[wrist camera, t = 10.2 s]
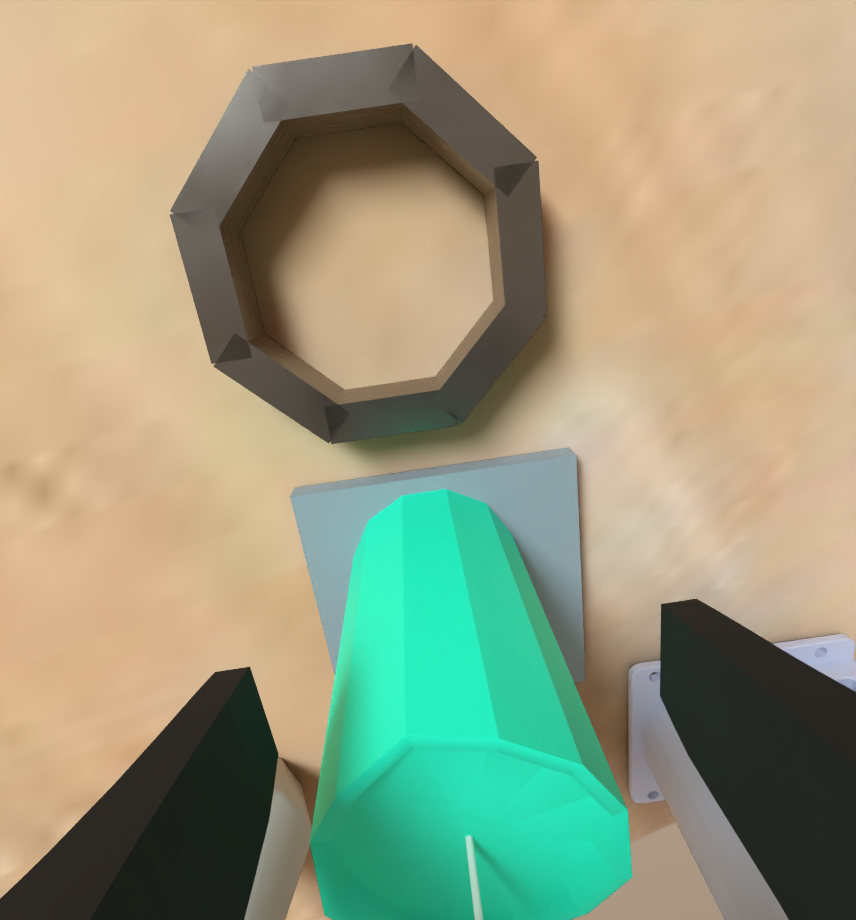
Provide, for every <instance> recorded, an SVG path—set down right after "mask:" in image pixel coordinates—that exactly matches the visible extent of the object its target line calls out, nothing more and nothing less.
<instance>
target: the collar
mask: <svg viewBox="0 0 856 920" xmlns="http://www.w3.org/2000/svg"><path fill="white" fill-rule="evenodd" d="M252 70H253V72H251V71H250V70H248V71H247V73H246V75H245V77H244V79H243V80H242V82H241V84H240V86H239V88H238V89H237V91H236V93H235V95H234V97H233V98H232V100H231V102H230V104H229V106H228V107H227V109H226V111H225V113H224V115H223V116H222V118H221V120H220V122H219V124H218V125H217V127H216V129H215V131H214V133H213V134H212V136H211V138H210V140H209V142H208V143H207V145H206V147H205V149H204V151H203V152H202V154H201V156H200V158H199V160H198V161H197V163H196V165H195V167H194V169H193V170H192V172H191V174H190V176H189V178H188V180H187V181H186V183H185V185H184V187H183V189H182V190H181V192H180V194H179V196H178V198H177V199H176V201H175V203H174V205H173V207H172V208H171V210H170V211H171V212H172V213H174V214H170V217H171V221H172V224H173V228H174V231H175V235H176V239H177V242H178V246H179V249H180V253H181V256H182V260H183V264H184V267H185V271H186V274H187V278H188V281H189V285H190V289H191V292H192V296H193V299H194V303H195V306H196V310H197V314H198V317H199V321H200V324H201V328H202V331H203V335H204V339H205V342H206V346H207V349H208V353H209V356H210V360H211V364H213V363H215V365H214V367H215V368H217V369H218V370H220V371H221V372H223V373H224V374H226V375H227V376H229V377H230V378H232V379H233V380H235V381H236V382H238V383H239V384H241V385H242V386H244V387H245V388H247V389H248V390H250V391H251V392H253V393H254V394H256V395H257V396H259V397H260V398H262V399H263V400H265V401H266V402H268V403H269V404H271V405H272V406H274V407H275V408H277V409H278V410H280V411H281V412H283V413H284V414H286V415H287V416H289V417H290V418H292V419H293V420H295V421H296V422H298V423H299V424H301V425H302V426H304V427H305V428H307V429H308V430H310V431H311V432H313V433H314V434H316V435H317V436H319V437H320V438H322V439H323V440H325V441H326V442H328V443H329V442H330V441H331V443H332V444H334V443H341V442H348V441H355V440H362V439H368V438H375V437H382V436H389V435H396V434H403V433H410V432H416V431H423V430H430V429H437V428H444V427H451V426H457V425H459V423H458V422H460V423H461V424H462V422H463V421H464V420H465V419H466V417H467V416H468V415H469V414H470V412H471V411H472V410H473V409H474V407H475V406H476V405H477V404H478V402H479V401H480V400H481V399H482V397H483V396H484V395H485V394H486V392H487V391H488V390H489V389H490V387H491V386H492V385H493V384H494V382H495V381H496V380H497V379H498V377H499V376H500V375H501V374H502V372H503V371H504V370H505V369H506V367H507V366H508V365H509V364H510V362H511V361H512V360H513V359H514V357H515V356H516V355H517V354H518V352H519V351H520V350H521V349H522V347H523V346H524V345H525V344H526V342H527V341H528V340H529V339H530V337H531V336H532V335H533V334H534V332H535V331H536V330H537V329H538V327H539V326H540V325H541V324H542V322H543V321H544V320H545V319H546V317H544V316H543V315H547V305H546V287H545V270H544V252H543V234H542V216H541V198H540V180H539V163H538V161H535V159H536V158H537V157H536V156H535V155H534V154H533V153H532V152H531V151H530V150H528V149H527V148H526V147H525V146H524V145H523V144H522V143H521V142H520V141H519V140H518V139H517V138H516V137H515V136H513V135H512V134H511V133H510V132H509V131H508V130H507V129H506V128H505V127H504V126H503V125H502V124H501V123H500V122H498V121H497V120H496V119H495V118H494V117H493V116H492V115H491V114H490V113H489V112H488V111H487V110H486V109H484V108H483V107H482V106H481V105H480V104H479V103H478V102H477V101H476V100H475V99H474V98H473V97H472V96H471V95H469V94H468V93H467V92H466V91H465V90H464V89H463V88H462V87H461V86H460V85H459V84H458V83H457V82H456V81H454V80H453V79H452V78H451V77H450V76H449V75H448V74H447V73H446V72H445V71H444V70H443V69H442V68H440V67H439V66H438V65H437V64H436V63H435V62H434V61H433V60H432V59H431V58H430V57H429V56H428V55H427V54H425V53H424V52H423V51H422V50H421V49H420V48H419V47H418V46H417V45H416V46H415V47H414V49H413V44H406V45H399V46H392V47H385V48H378V49H371V50H364V51H358V52H351V53H344V54H337V55H330V56H323V57H317V58H310V59H303V60H296V61H289V62H282V63H275V64H269V65H262V66H255V67H252ZM395 123H403V124H404V125H405V126H406V127H407V128H408V129H410V130H411V131H412V132H413V133H414V134H415V135H416V136H417V137H419V138H420V139H421V140H422V141H423V142H424V143H425V144H427V145H428V146H429V147H430V148H431V149H432V150H433V151H435V152H436V153H437V154H438V155H439V156H440V157H441V158H443V159H444V160H445V161H446V162H447V163H448V164H449V165H450V166H452V167H453V168H454V169H455V170H456V171H457V172H458V173H460V174H461V175H462V176H463V177H464V178H465V179H466V180H468V181H469V182H470V183H471V184H472V185H473V186H474V187H475V188H477V189H478V190H479V191H480V192H481V193H482V194H483V195H484V199H485V210H486V222H487V233H488V244H489V255H490V266H491V277H492V289H493V300H494V301H493V302H492V303H491V305H490V306H489V307H488V309H487V310H486V311H485V312H484V314H483V315H482V316H481V318H480V319H479V320H478V322H477V323H476V324H475V326H474V327H473V328H472V330H471V331H470V332H469V333H468V335H467V336H466V337H465V339H464V340H463V341H462V343H461V344H460V345H459V347H458V348H457V349H456V351H455V352H454V353H453V354H452V356H451V357H450V358H449V360H448V361H447V362H446V364H445V365H444V366H443V368H442V369H441V370H440V371H439V373H438V374H437V375H436V377H431V378H424V379H417V380H410V381H404V382H397V383H390V384H383V385H376V386H369V387H363V388H356V389H349V390H344V389H342V388H341V387H340V386H338V385H337V384H335V383H334V382H332V381H331V380H330V379H328V378H327V377H325V376H324V375H322V374H321V373H320V372H318V371H317V370H315V369H314V368H313V367H311V366H310V365H308V364H307V363H305V362H304V361H303V360H301V359H300V358H298V357H297V356H295V355H294V354H293V353H291V352H290V351H288V350H287V349H285V348H284V347H283V346H281V345H280V344H278V343H277V342H276V341H274V340H273V339H271V338H270V337H268V336H267V335H266V334H265V333H264V329H263V324H262V320H261V316H260V312H259V308H258V304H257V299H256V295H255V291H254V287H253V283H252V279H251V274H250V270H249V266H248V262H247V258H246V254H245V249H244V245H243V241H242V237H241V233H240V230H241V228H242V227H243V225H244V223H245V222H246V220H247V218H248V217H249V215H250V213H251V212H252V210H253V208H254V207H255V205H256V203H257V201H258V200H259V198H260V196H261V195H262V193H263V191H264V190H265V188H266V186H267V185H268V183H269V181H270V180H271V178H272V176H273V175H274V173H275V171H276V170H277V168H278V166H279V165H280V163H281V161H282V160H283V158H284V156H285V155H286V153H287V151H288V150H289V148H290V146H291V145H292V143H293V141H294V140H295V138H299V137H306V136H313V135H320V134H326V133H333V132H340V131H347V130H354V129H361V128H367V127H374V126H381V125H388V124H395Z"/></svg>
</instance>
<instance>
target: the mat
mask: <svg viewBox="0 0 856 920" xmlns="http://www.w3.org/2000/svg"><path fill="white" fill-rule="evenodd" d="M442 489H448V490H451V491H453V492H456V493H459V494H462V495H465V496H468V497H470V498H473V499H476V500H479V501H482V502H484V503H487V505H488V506H489V507H490V508H491V509H492V511H493V512H494V513H495V514H496V515H497V517H498V518H499V519H500V520H501V522H502V523H503V524H504V525H505V526H506V528H507V529H508V530H509V531H510V532H511V534H512V536H513V539H514V541H515V543H516V546H517V548H518V551H519V553H520V555H521V558H522V560H523V562H524V565H525V567H526V570H527V572H528V574H529V577H530V579H531V581H532V584H533V586H534V589H535V591H536V593H537V596H538V598H539V601H540V603H541V605H542V608H543V610H544V612H545V615H546V617H547V620H548V622H549V624H550V627H551V629H552V631H553V634H554V636H555V639H556V641H557V643H558V646H559V648H560V650H561V653H562V655H563V658H564V660H565V662H566V665H567V667H568V669H569V672H570V674H571V677H572V679H573V681H574V683H577V682H584V681H586V679H585V654H584V630H583V606H582V581H581V557H580V533H579V508H578V484H577V460H576V454H575V453H574V452H573V451H572V450H571V449H570V448H564V449H557V450H550V451H543V452H536V453H529V454H522V455H516V456H509V457H502V458H495V459H488V460H481V461H475V462H468V463H461V464H454V465H447V466H440V467H433V468H427V469H420V470H413V471H406V472H399V473H392V474H386V475H379V476H372V477H365V478H358V479H351V480H345V481H338V482H331V483H324V484H317V485H310V486H303V487H297V488H294V490H293V492H292V494H291V496H290V498H291V502H292V506H293V510H294V514H295V518H296V522H297V526H298V530H299V534H300V538H301V542H302V546H303V550H304V554H305V558H306V562H307V566H308V570H309V574H310V578H311V582H312V586H313V590H314V594H315V598H316V602H317V606H318V610H319V614H320V618H321V622H322V626H323V630H324V634H325V638H326V642H327V646H328V650H329V654H330V658H331V662H332V666H333V670H334V674H335V673H336V667H337V660H338V654H339V647H340V641H341V634H342V628H343V622H344V615H345V609H346V602H347V596H348V589H349V583H350V576H351V570H352V563H353V557H354V554H355V552H356V549H357V547H358V544H359V542H360V540H361V537H362V535H363V532H364V530H365V527H366V525H367V522H368V521H369V520H370V519H371V518H373V517H374V516H375V515H377V514H378V513H379V512H381V511H382V510H383V509H385V508H386V507H387V506H389V505H390V504H391V503H393V502H394V501H395V500H397V499H398V498H399V497H401V496H402V495H409V494H415V493H422V492H429V491H435V490H442Z"/></svg>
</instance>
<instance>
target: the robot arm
mask: <svg viewBox="0 0 856 920" xmlns="http://www.w3.org/2000/svg"><path fill="white" fill-rule="evenodd" d="M854 652H855V642H854V641H853V640H852V639H851V638H850V637H849V636H847V635H845V634H836V635H829V636H822V637H815V638H808V639H802V640H795V641H788V642H781V643H774V644H772V643H770V642H769V641H767V640H765V639H764V638H762V637H760V636H759V635H757V634H755V633H754V632H752V631H750V630H749V629H747V628H745V627H744V626H742V625H740V624H739V623H737V622H735V621H734V620H732V619H730V618H729V617H727V616H725V615H724V614H722V613H720V612H718V611H717V610H715V609H713V608H712V607H710V606H708V605H706V604H705V603H703V602H701V601H699V600H697V599H692V600H686V601H679V602H673V603H666V604H661V655H660V660H658V661H651V662H644V663H639V664H635V665H634V666H632V667H631V669H630V670H629V673H628V705H629V793H630V796H631V798H632V800H633V801H634V802H636V803H639V804H643V803H650V802H657V801H664V800H665V801H666V803H667V805H668V807H669V809H670V811H671V813H672V815H673V817H674V819H675V821H676V823H677V825H678V827H679V829H680V831H681V833H682V835H683V837H684V839H685V841H686V843H687V845H688V847H689V849H690V851H691V853H692V855H693V857H694V859H695V861H696V863H697V865H698V867H699V869H700V871H701V873H702V875H703V877H704V879H705V881H706V883H707V885H708V887H709V889H710V891H711V893H712V895H713V897H714V899H715V901H716V903H717V905H718V907H719V909H720V911H721V913H722V915H723V917H724V919H725V920H856V660H855V659H853V657H854ZM653 672H656V673H655V674H652V673H653ZM650 674H652V675H650ZM277 761H278V751H277V748H276V745H275V742H274V739H273V736H272V733H271V730H270V727H269V724H268V721H267V718H266V715H265V712H264V709H263V705H262V702H261V699H260V696H259V693H258V690H257V687H256V684H255V681H254V678H253V675H252V672H251V669H250V667H246V668H239V669H233V670H226V671H220V672H215V673H214V674H213V675H212V676H211V677H210V678H209V679H208V680H207V681H206V682H205V684H204V685H203V686H202V687H201V688H200V689H199V690H198V691H197V692H196V694H195V695H194V696H193V697H192V698H191V699H190V700H189V701H188V703H187V704H186V705H185V706H184V707H183V708H182V709H181V710H180V712H179V713H178V714H177V715H176V716H175V717H174V718H173V720H172V721H171V722H170V723H169V724H168V725H167V726H166V727H165V729H164V730H163V731H162V732H161V733H160V734H159V735H158V737H157V738H156V739H155V740H154V741H153V742H152V743H151V744H150V745H149V746H148V748H147V749H146V750H145V751H144V752H143V753H142V754H141V755H140V756H139V758H138V759H137V760H136V761H135V762H134V763H133V764H132V765H131V766H130V768H129V769H128V770H127V771H126V772H125V773H124V774H123V775H122V776H121V778H120V779H119V780H118V781H117V782H116V783H115V784H114V785H113V786H112V787H111V788H110V789H109V790H108V791H107V792H106V793H105V794H104V795H103V796H102V798H101V799H100V800H99V801H98V802H97V803H96V804H95V805H94V806H93V807H92V808H91V809H90V810H89V811H88V812H87V813H86V814H85V815H84V816H83V817H82V818H81V819H80V820H79V821H78V822H77V823H76V824H75V826H74V827H73V828H72V829H71V830H70V831H69V832H68V833H67V834H66V835H65V836H64V837H63V838H62V839H61V840H60V841H59V842H58V843H57V844H56V845H55V846H54V847H53V848H52V849H51V850H50V851H49V852H48V853H47V854H46V855H45V856H44V857H43V858H42V859H41V860H40V861H39V862H38V863H37V864H36V865H35V866H34V867H33V868H32V869H31V870H30V871H29V872H28V873H27V874H26V875H25V876H24V877H23V878H22V879H21V880H20V881H19V882H17V883H16V884H15V885H14V886H13V887H12V888H11V889H10V890H9V891H8V892H7V893H6V894H5V895H4V896H3V897H2V898H1V899H0V920H244V918H245V915H246V911H247V907H248V903H249V899H250V895H251V891H252V887H253V883H254V879H255V875H256V871H257V867H258V863H259V859H260V855H261V851H262V847H263V843H264V839H265V835H266V831H267V827H268V823H269V818H270V812H271V805H272V799H273V792H274V785H275V777H276V769H277Z"/></svg>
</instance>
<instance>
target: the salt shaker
mask: <svg viewBox="0 0 856 920" xmlns="http://www.w3.org/2000/svg"><path fill="white" fill-rule="evenodd" d="M311 829H312V825H311V821H310V817H309V814H308V810H307V806H306V802H305V798H304V794H303V791H302V787H301V784H300V783H299V781H298V780H297V779H296V777H295V776H294V775H293V773H292V772H291V771H290V769H289V768H288V767H287V765H286V764H285V763H284V762H283V760H282V759H281V758H278V761H277V769H276V777H275V785H274V792H273V799H272V805H271V812H270V818H269V823H268V827H267V831H266V835H265V839H264V843H263V847H262V851H261V855H260V859H259V863H258V867H257V871H256V875H255V879H254V883H253V887H252V891H251V895H250V899H249V903H248V907H247V911H246V915H245V918H244V920H285V919H286V916H287V913H288V910H289V907H290V904H291V901H292V898H293V895H294V892H295V889H296V886H297V883H298V880H299V877H300V874H301V871H302V869H303V866H304V863H305V860H306V856H307V853H308V849H309V846H310V835H311Z"/></svg>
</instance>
